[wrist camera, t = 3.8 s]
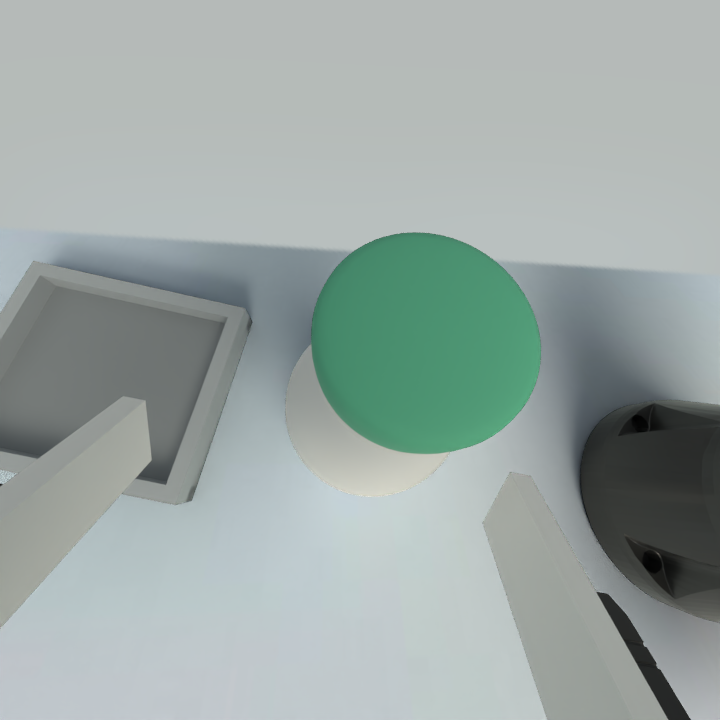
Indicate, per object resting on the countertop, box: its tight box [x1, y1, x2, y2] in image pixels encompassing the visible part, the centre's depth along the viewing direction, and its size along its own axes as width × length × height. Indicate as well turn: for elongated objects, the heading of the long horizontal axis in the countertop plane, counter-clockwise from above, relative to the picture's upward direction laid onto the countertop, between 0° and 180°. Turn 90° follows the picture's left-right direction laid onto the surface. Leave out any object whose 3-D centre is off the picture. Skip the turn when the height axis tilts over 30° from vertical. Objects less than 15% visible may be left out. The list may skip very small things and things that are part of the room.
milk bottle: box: [285, 233, 541, 497], centre depth 15 cm, size 8×8×20 cm
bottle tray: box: [0, 261, 252, 505], centre depth 23 cm, size 16×14×2 cm
